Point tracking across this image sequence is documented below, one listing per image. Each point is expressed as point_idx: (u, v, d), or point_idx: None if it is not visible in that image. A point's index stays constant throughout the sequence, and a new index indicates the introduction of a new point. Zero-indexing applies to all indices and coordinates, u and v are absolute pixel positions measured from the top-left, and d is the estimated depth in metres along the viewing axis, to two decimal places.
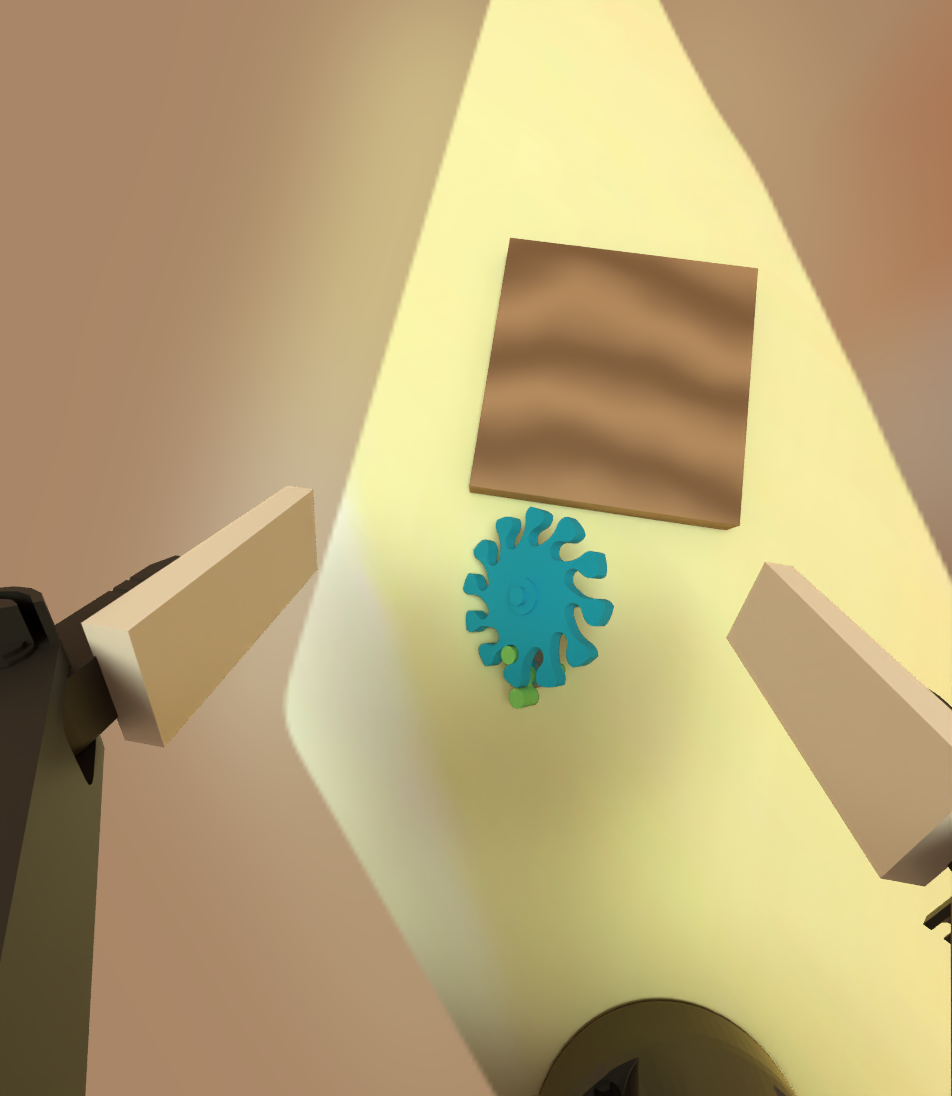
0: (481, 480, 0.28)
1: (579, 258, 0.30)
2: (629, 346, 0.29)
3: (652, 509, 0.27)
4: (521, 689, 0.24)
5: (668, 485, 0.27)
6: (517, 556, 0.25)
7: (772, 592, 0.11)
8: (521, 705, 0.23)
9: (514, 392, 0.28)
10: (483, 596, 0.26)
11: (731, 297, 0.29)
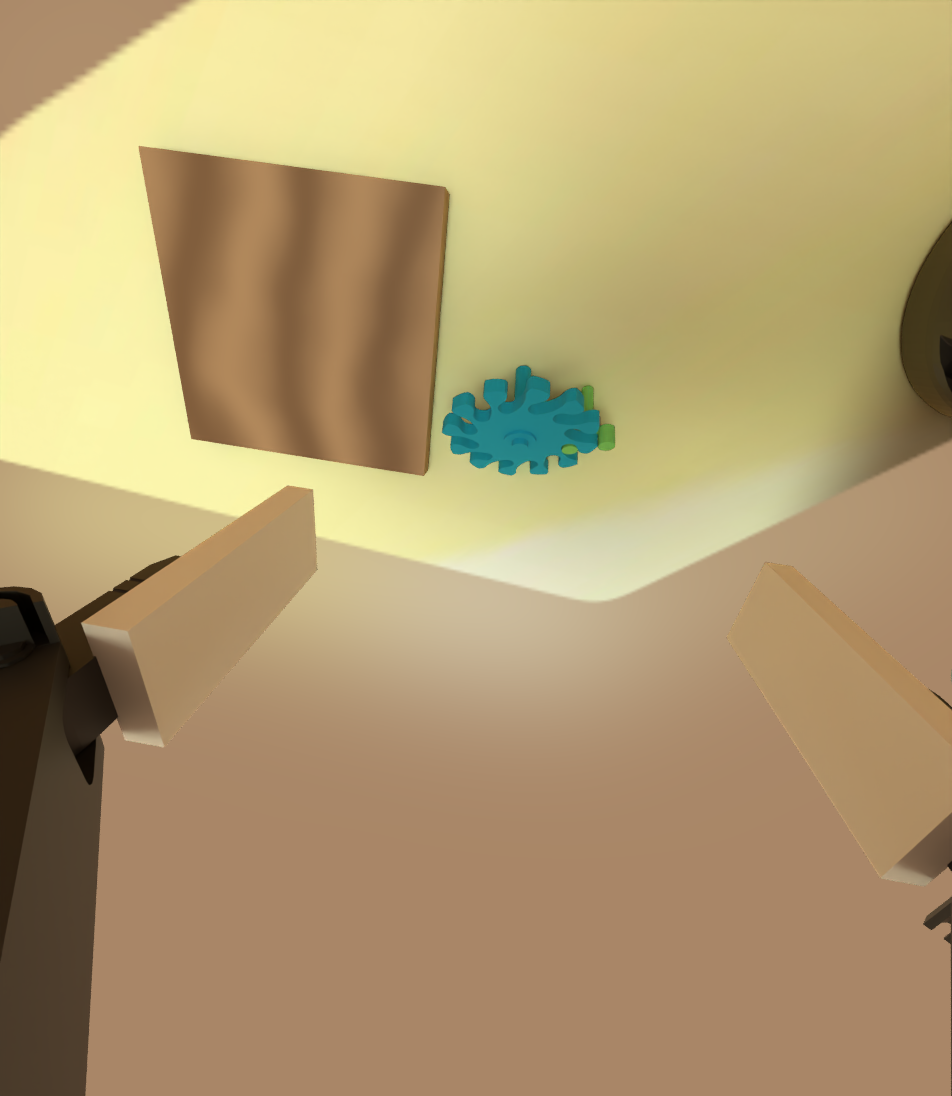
0: (418, 465, 0.32)
1: (191, 371, 0.30)
2: (268, 318, 0.28)
3: (433, 296, 0.27)
4: (599, 441, 0.28)
5: (407, 277, 0.26)
6: (485, 442, 0.28)
7: (772, 592, 0.11)
8: (613, 443, 0.27)
9: (335, 436, 0.31)
10: (518, 463, 0.31)
11: (183, 186, 0.26)
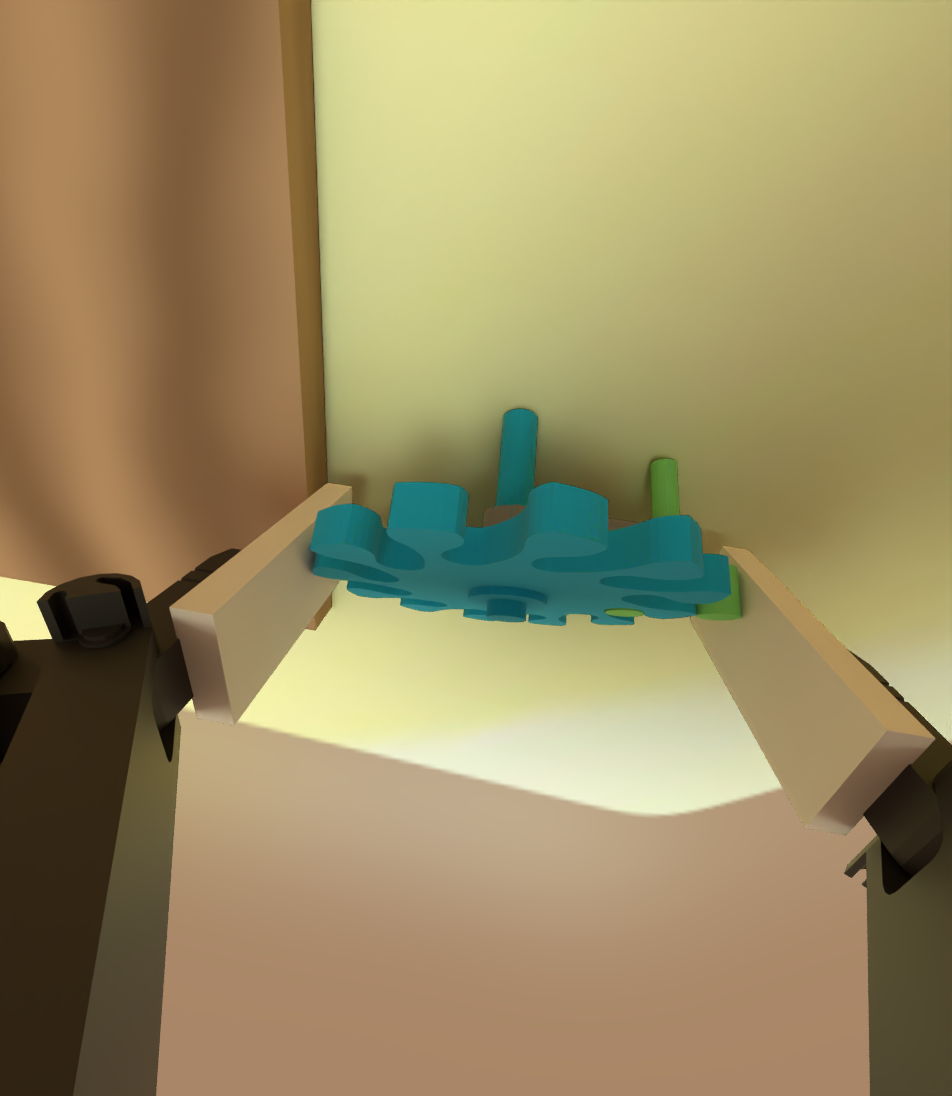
0: None
1: None
2: None
3: (284, 251, 0.10)
4: (701, 605, 0.11)
5: (211, 199, 0.10)
6: (423, 591, 0.12)
7: None
8: (738, 616, 0.11)
9: (127, 555, 0.15)
10: None
11: None
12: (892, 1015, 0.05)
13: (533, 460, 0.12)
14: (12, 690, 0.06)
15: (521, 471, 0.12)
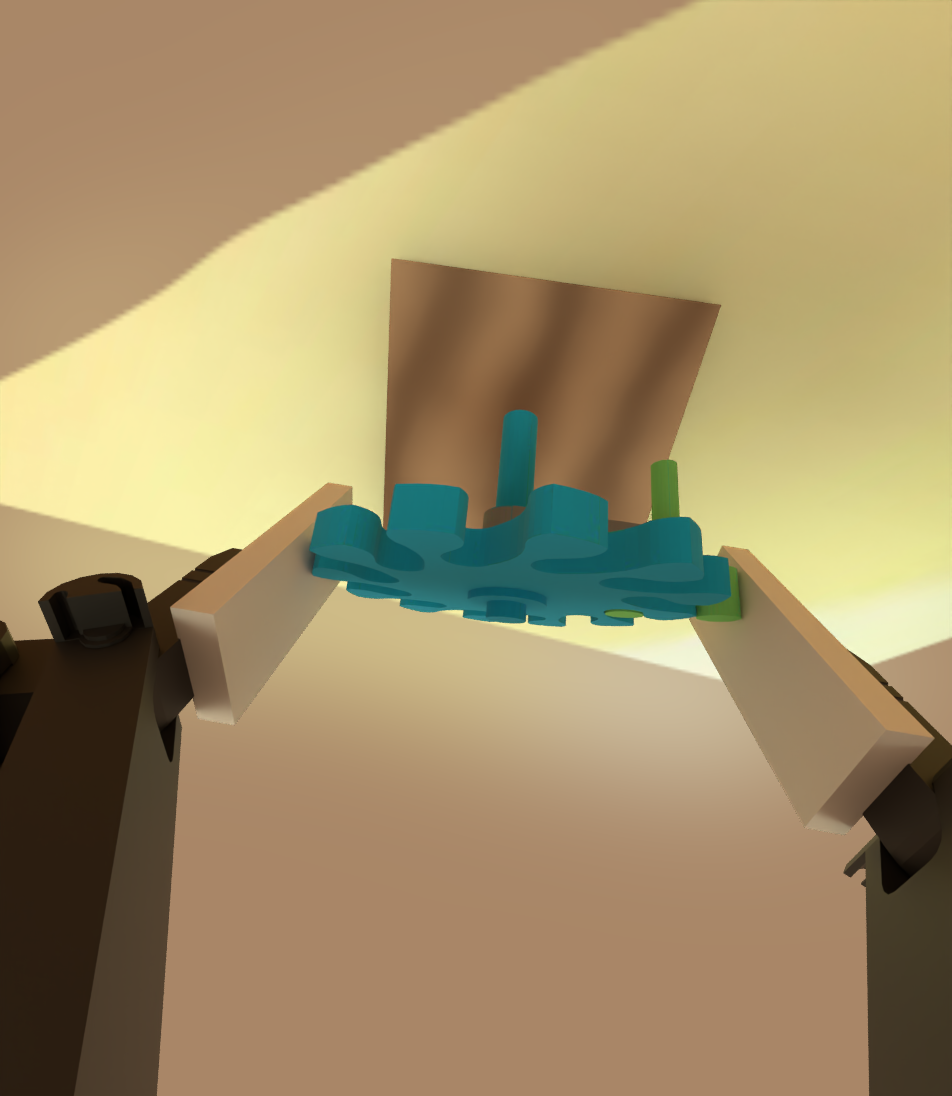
0: None
1: (398, 471, 0.29)
2: (495, 424, 0.27)
3: (681, 408, 0.26)
4: (701, 606, 0.11)
5: (657, 389, 0.25)
6: (423, 592, 0.12)
7: None
8: (738, 617, 0.11)
9: None
10: None
11: (432, 297, 0.24)
12: (891, 1014, 0.05)
13: (533, 461, 0.12)
14: (13, 690, 0.06)
15: (521, 472, 0.12)
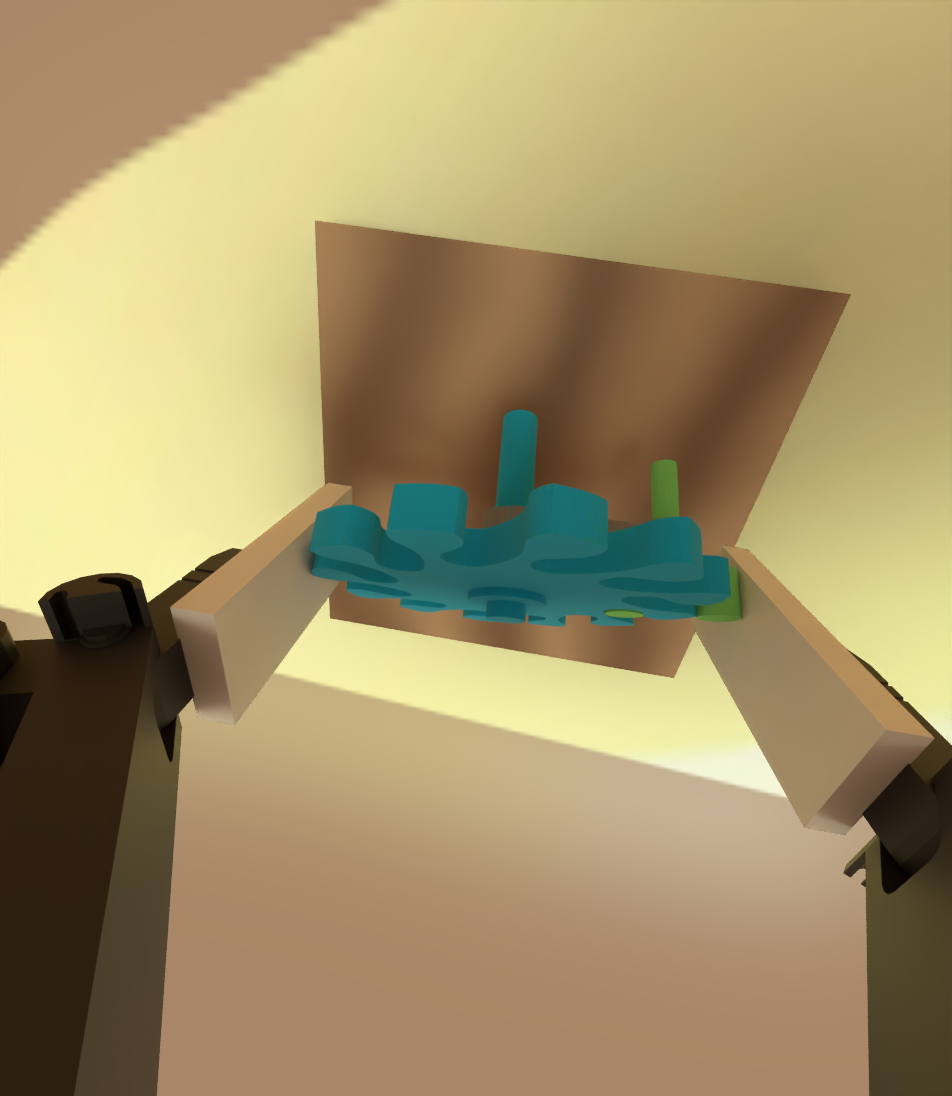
0: (669, 665, 0.22)
1: None
2: (484, 475, 0.18)
3: (770, 454, 0.17)
4: (701, 606, 0.11)
5: (735, 426, 0.16)
6: (423, 592, 0.12)
7: None
8: (738, 617, 0.11)
9: None
10: None
11: (382, 284, 0.15)
12: (891, 1014, 0.05)
13: (533, 461, 0.12)
14: (13, 690, 0.06)
15: (521, 472, 0.12)
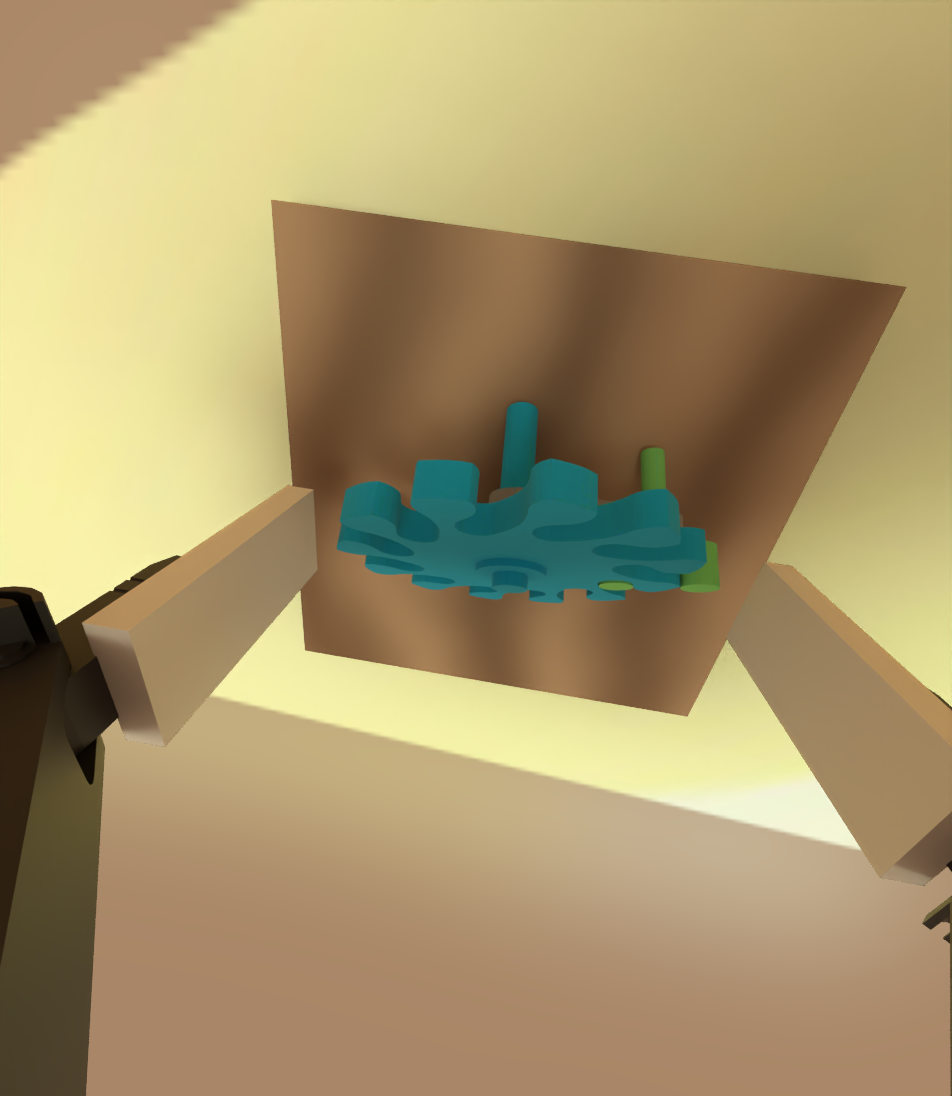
0: (682, 703, 0.19)
1: (320, 563, 0.18)
2: None
3: (804, 473, 0.14)
4: (684, 577, 0.13)
5: (764, 441, 0.14)
6: (435, 566, 0.13)
7: (772, 592, 0.11)
8: (717, 586, 0.12)
9: (550, 660, 0.19)
10: None
11: (353, 275, 0.13)
12: None
13: (534, 448, 0.13)
14: None
15: (523, 458, 0.13)
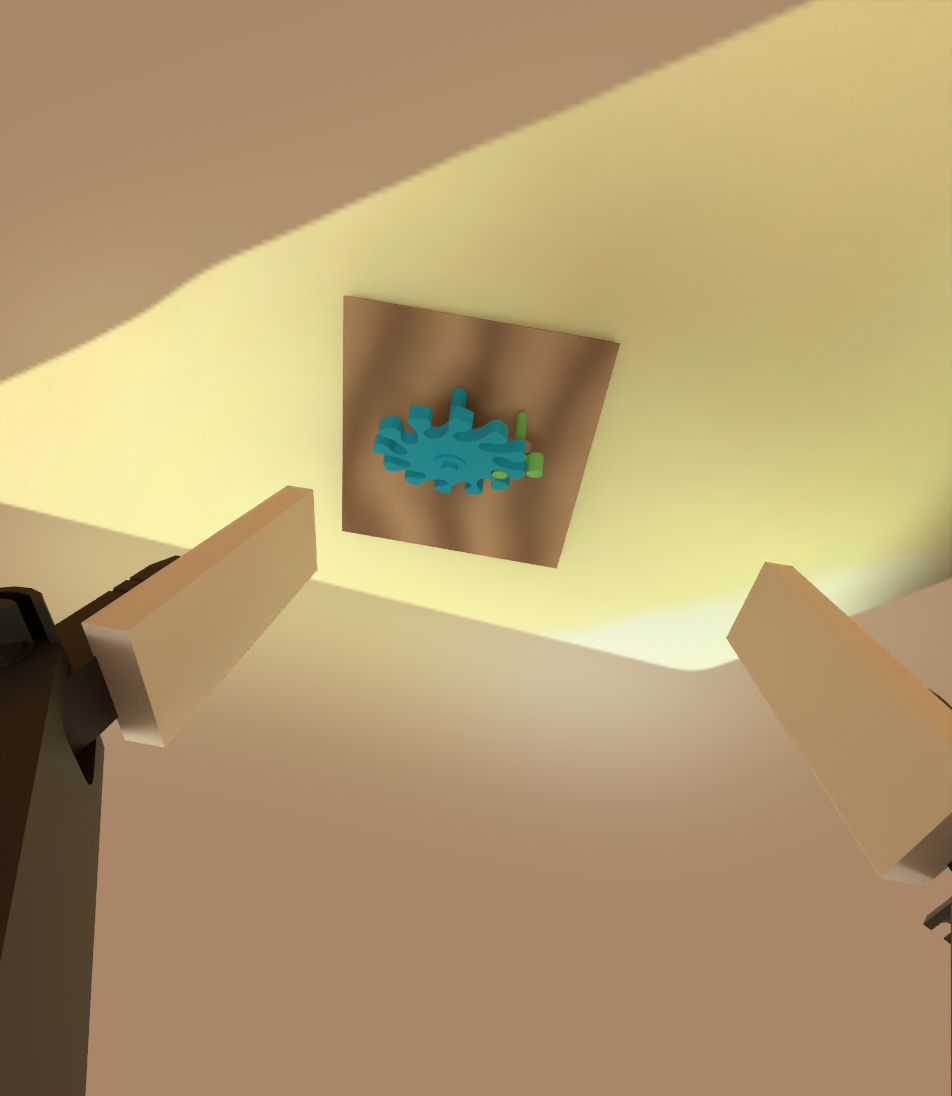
0: (553, 559, 0.35)
1: (354, 476, 0.33)
2: None
3: (593, 427, 0.30)
4: (527, 468, 0.28)
5: (572, 410, 0.30)
6: (416, 462, 0.28)
7: (772, 592, 0.11)
8: (540, 472, 0.28)
9: (480, 533, 0.35)
10: (452, 483, 0.31)
11: (379, 329, 0.28)
12: None
13: None
14: None
15: None
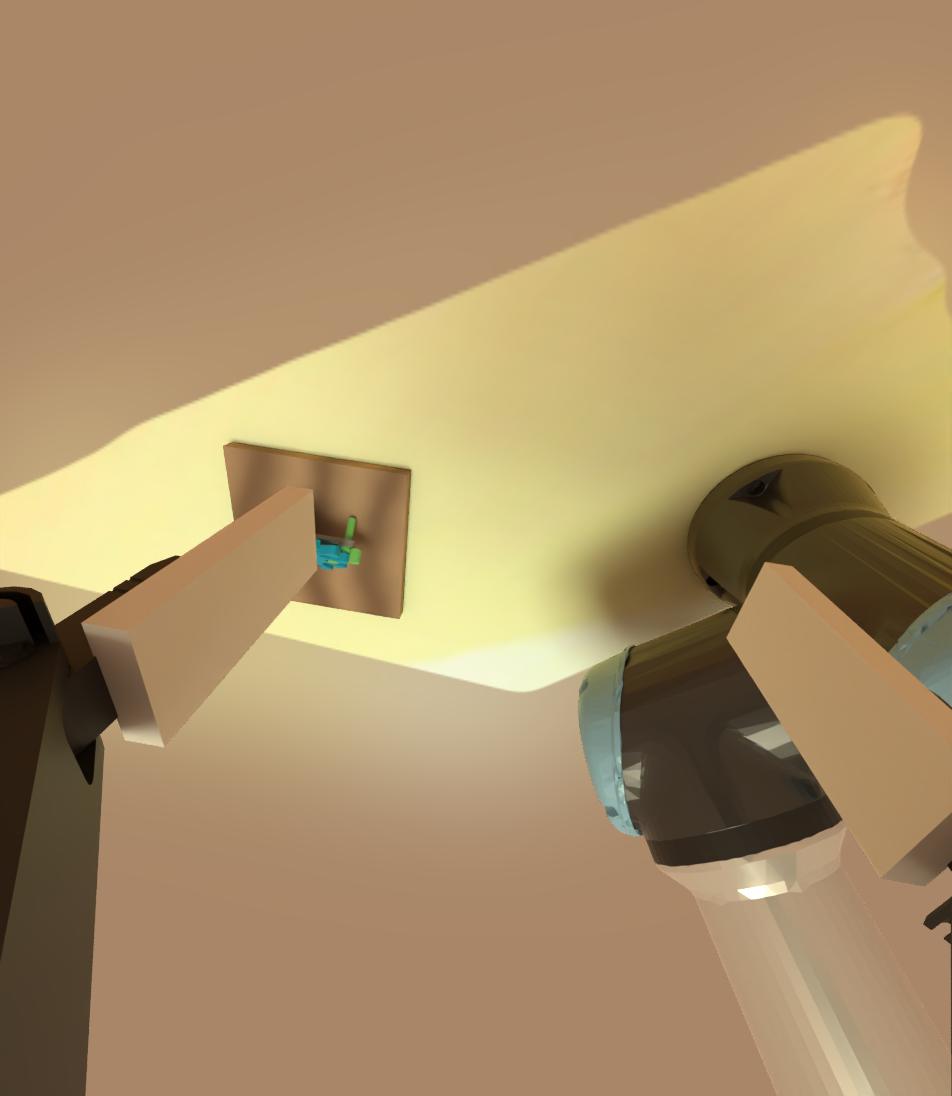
0: (395, 613, 0.48)
1: None
2: None
3: (402, 526, 0.43)
4: (348, 559, 0.41)
5: (386, 515, 0.43)
6: None
7: (772, 592, 0.11)
8: (355, 562, 0.41)
9: (341, 595, 0.48)
10: None
11: (249, 465, 0.42)
12: None
13: None
14: None
15: None
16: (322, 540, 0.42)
